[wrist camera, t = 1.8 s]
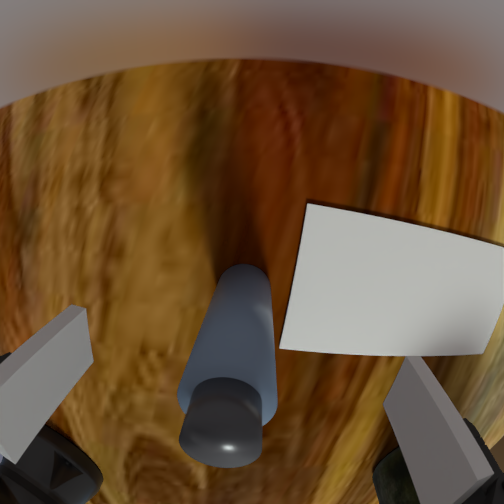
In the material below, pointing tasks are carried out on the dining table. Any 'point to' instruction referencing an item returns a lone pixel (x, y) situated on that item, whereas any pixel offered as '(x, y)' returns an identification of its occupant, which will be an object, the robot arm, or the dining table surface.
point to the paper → (391, 288)
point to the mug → (394, 480)
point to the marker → (231, 373)
